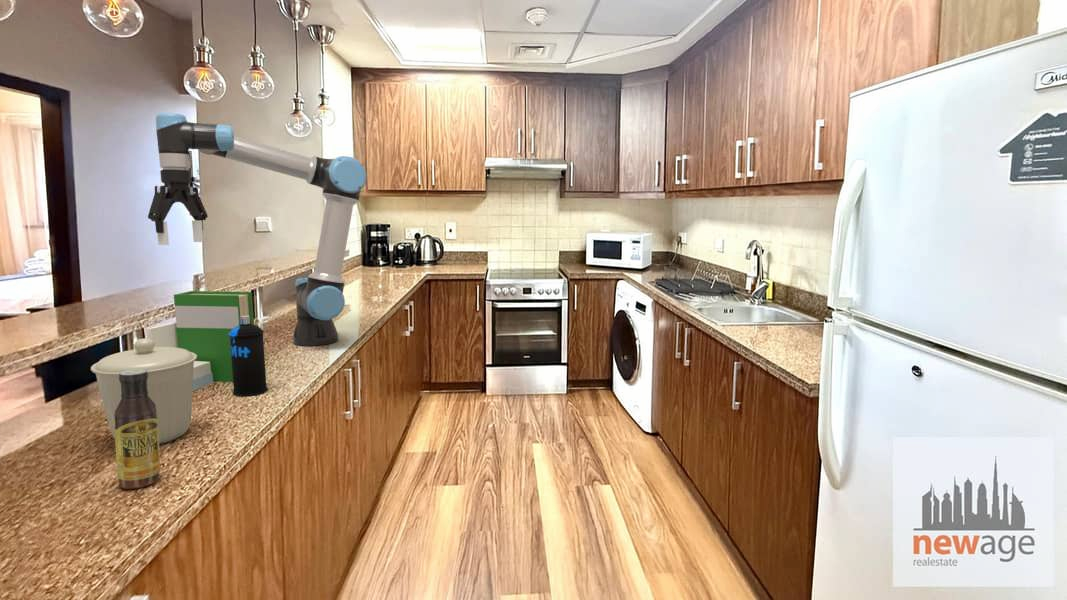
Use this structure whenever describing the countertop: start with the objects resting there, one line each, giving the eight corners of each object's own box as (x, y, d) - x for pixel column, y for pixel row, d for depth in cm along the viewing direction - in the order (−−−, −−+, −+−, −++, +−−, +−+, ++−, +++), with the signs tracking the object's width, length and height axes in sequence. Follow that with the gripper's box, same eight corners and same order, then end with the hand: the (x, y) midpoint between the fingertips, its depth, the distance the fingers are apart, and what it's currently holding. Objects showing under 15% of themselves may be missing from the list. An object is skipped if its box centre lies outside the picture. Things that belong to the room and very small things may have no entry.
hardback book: (257, 374, 169) (251, 291, 166) (243, 382, 162) (236, 295, 158) (198, 373, 170) (191, 290, 167) (181, 380, 163) (173, 294, 159)
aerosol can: (257, 385, 159) (251, 312, 156) (274, 390, 155) (269, 315, 152) (226, 392, 153) (220, 316, 150) (243, 398, 148) (237, 320, 145)
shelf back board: (204, 369, 175) (199, 315, 172) (207, 369, 175) (203, 315, 172) (152, 388, 156) (147, 328, 154) (156, 388, 156) (151, 328, 154)
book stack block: (178, 380, 163) (176, 359, 162) (213, 382, 161) (211, 361, 160) (154, 389, 155) (151, 367, 154) (190, 392, 153) (188, 369, 152)
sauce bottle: (124, 494, 99) (111, 379, 96) (114, 483, 103) (101, 372, 100) (168, 481, 103) (157, 371, 100) (156, 471, 108) (146, 365, 105)
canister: (222, 426, 130) (215, 332, 126) (152, 460, 112) (142, 351, 109) (154, 419, 134) (145, 327, 130) (76, 450, 116) (63, 346, 113)
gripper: (195, 172, 183) (201, 240, 186) (127, 166, 159) (135, 245, 162) (217, 171, 182) (222, 241, 185) (152, 166, 158) (159, 246, 161)
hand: (181, 243), depth 174 cm, fingers open, 13 cm apart
